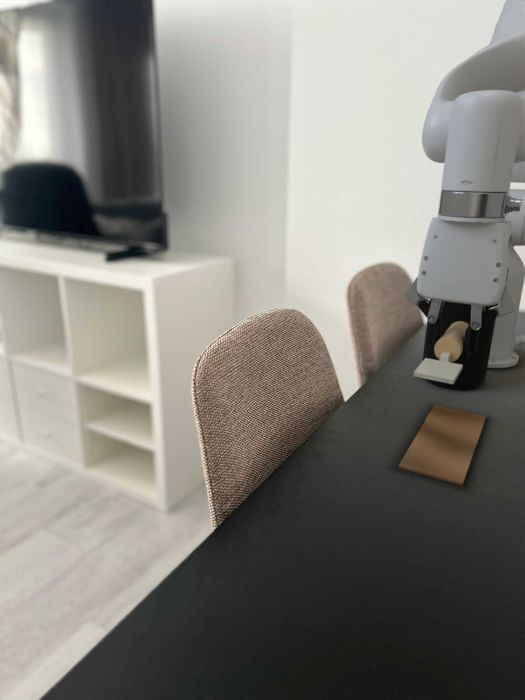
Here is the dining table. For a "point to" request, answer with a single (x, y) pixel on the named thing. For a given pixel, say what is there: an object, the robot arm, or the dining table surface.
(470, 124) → the robot arm
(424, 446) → the wooden board
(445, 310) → the coffee jar
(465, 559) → the dining table surface
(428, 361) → the spatula
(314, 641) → the dining table surface
